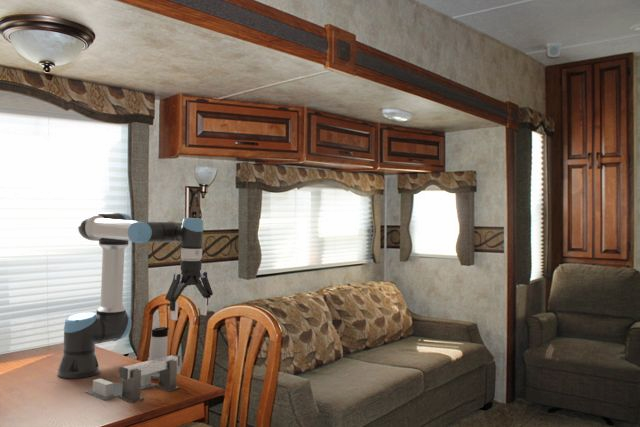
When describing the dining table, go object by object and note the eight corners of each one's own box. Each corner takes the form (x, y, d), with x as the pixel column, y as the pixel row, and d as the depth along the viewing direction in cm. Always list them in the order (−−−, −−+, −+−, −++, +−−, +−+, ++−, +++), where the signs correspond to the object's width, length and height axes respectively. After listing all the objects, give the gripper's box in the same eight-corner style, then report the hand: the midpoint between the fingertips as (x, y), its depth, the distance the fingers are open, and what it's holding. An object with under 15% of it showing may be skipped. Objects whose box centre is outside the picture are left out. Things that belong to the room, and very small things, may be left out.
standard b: (155, 387, 208) (156, 359, 207) (165, 384, 212) (167, 356, 212) (169, 391, 203) (170, 363, 203) (179, 388, 207) (180, 360, 207)
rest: (85, 392, 198) (85, 379, 198) (137, 378, 216) (137, 367, 216) (104, 400, 191) (105, 387, 191) (156, 385, 209) (157, 373, 209)
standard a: (117, 397, 194) (119, 368, 194) (130, 394, 199) (131, 365, 198) (131, 403, 190) (133, 372, 190) (144, 399, 194) (145, 369, 194)
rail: (119, 377, 192) (119, 367, 192) (173, 363, 211) (173, 354, 211) (125, 379, 190) (126, 369, 190) (179, 365, 209) (179, 356, 209)
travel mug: (162, 380, 216) (164, 329, 216) (146, 378, 217) (148, 328, 217) (169, 375, 222) (171, 326, 222) (154, 374, 223) (156, 325, 223)
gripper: (170, 262, 190) (167, 323, 191) (223, 259, 210) (221, 314, 210) (156, 260, 195) (154, 320, 195) (210, 257, 215) (208, 311, 215)
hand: (189, 317), depth 203 cm, fingers open, 13 cm apart
